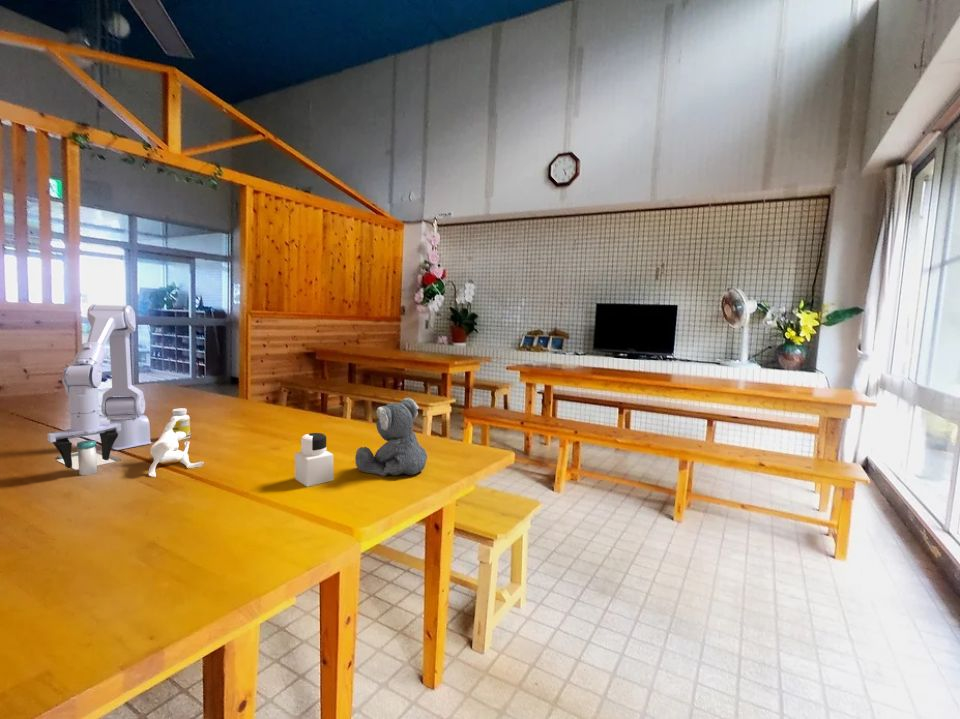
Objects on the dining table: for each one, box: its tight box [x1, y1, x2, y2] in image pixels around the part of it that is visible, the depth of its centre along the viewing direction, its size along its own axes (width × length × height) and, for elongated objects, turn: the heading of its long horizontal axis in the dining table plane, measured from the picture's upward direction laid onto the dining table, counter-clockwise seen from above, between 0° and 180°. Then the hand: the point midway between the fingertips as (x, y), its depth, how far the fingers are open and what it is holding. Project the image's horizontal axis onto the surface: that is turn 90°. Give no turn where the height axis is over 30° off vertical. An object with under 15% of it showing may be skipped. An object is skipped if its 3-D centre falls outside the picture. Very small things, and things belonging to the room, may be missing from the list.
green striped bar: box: [56, 451, 78, 459], centre depth 134 cm, size 8×2×1 cm, turn 148°
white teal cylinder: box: [76, 439, 98, 476], centre depth 119 cm, size 4×4×8 cm
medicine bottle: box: [294, 432, 334, 488], centre depth 118 cm, size 7×7×12 cm
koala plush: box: [355, 397, 428, 477], centre depth 128 cm, size 17×18×20 cm
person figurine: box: [147, 416, 205, 478], centre depth 127 cm, size 13×13×18 cm
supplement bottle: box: [169, 407, 191, 441], centre depth 153 cm, size 5×5×10 cm
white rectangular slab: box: [56, 450, 122, 471], centre depth 129 cm, size 10×14×1 cm
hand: (87, 463), depth 120 cm, fingers open, 7 cm apart
